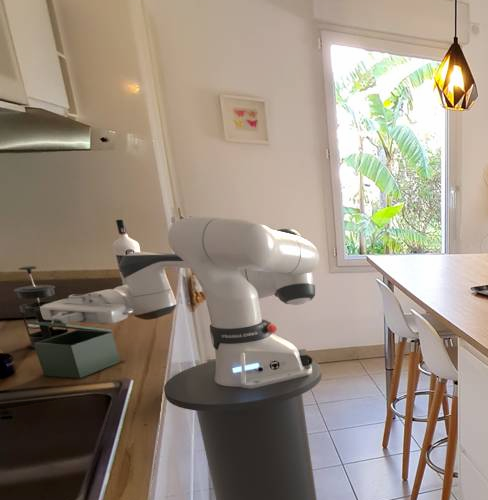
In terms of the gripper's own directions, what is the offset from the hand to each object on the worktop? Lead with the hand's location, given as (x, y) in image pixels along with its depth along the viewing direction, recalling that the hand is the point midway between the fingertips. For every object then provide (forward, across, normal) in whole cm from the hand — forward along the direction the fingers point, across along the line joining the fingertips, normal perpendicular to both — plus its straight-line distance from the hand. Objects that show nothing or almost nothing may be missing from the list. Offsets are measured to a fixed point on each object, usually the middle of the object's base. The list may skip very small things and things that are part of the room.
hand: (57, 320), depth 138 cm
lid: (-3, 0, -3) cm, 4 cm away
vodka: (-77, +48, -14) cm, 92 cm away
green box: (-3, 0, -14) cm, 14 cm away
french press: (-19, +26, -14) cm, 35 cm away
